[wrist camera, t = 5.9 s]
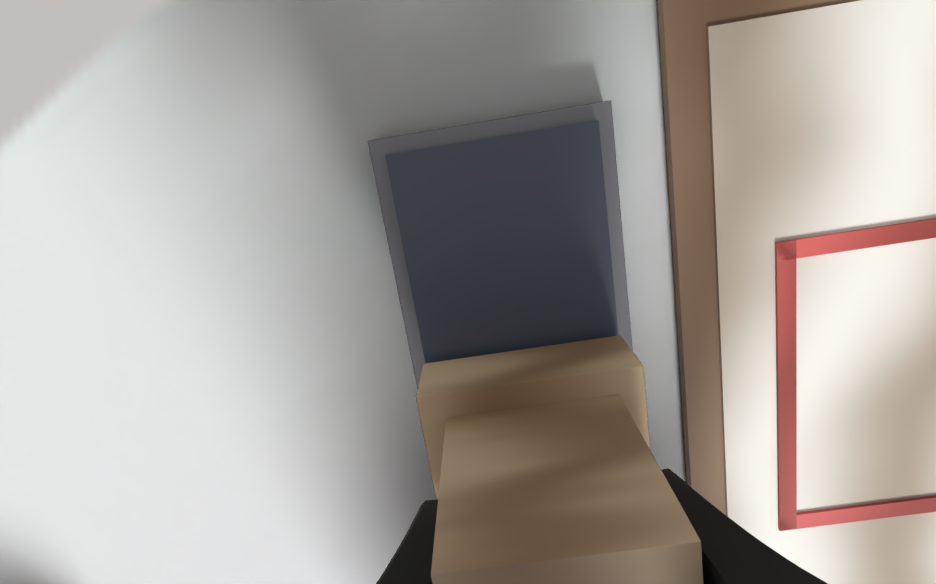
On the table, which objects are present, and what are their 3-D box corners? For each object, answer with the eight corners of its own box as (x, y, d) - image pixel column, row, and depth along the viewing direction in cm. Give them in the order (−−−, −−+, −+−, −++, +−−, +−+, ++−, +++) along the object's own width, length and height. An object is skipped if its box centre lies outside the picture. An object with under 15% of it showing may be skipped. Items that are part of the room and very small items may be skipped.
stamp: (617, 331, 15) (741, 500, 8) (633, 498, 16) (750, 766, 9) (424, 359, 15) (383, 546, 8) (456, 521, 16) (443, 797, 10)
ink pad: (603, 102, 14) (614, 99, 13) (650, 628, 19) (661, 658, 18) (373, 140, 15) (365, 141, 14) (474, 649, 19) (474, 679, 18)
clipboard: (1270, -116, 13) (1307, -127, 12) (1121, 637, 19) (1141, 653, 18) (656, -7, 14) (664, -14, 13) (699, 684, 19) (706, 701, 19)
